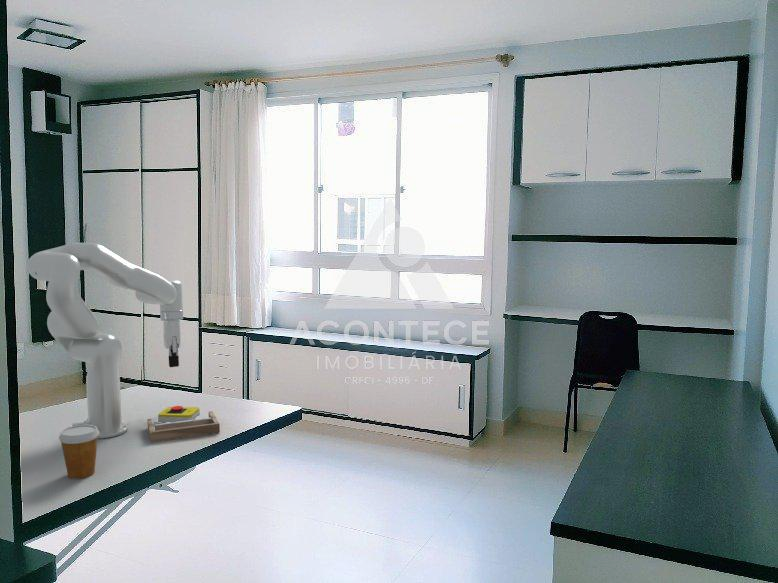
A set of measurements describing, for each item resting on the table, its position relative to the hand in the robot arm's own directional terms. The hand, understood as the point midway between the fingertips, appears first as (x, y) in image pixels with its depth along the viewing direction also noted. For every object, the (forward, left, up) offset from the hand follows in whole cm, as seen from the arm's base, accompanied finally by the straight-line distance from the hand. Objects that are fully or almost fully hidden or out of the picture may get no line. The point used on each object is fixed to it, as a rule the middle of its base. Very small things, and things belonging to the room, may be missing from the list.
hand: (174, 366), depth 218 cm
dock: (0, -26, -15) cm, 30 cm away
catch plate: (0, -27, -15) cm, 31 cm away
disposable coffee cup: (-29, -51, -16) cm, 60 cm away
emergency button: (0, -13, -16) cm, 21 cm away
